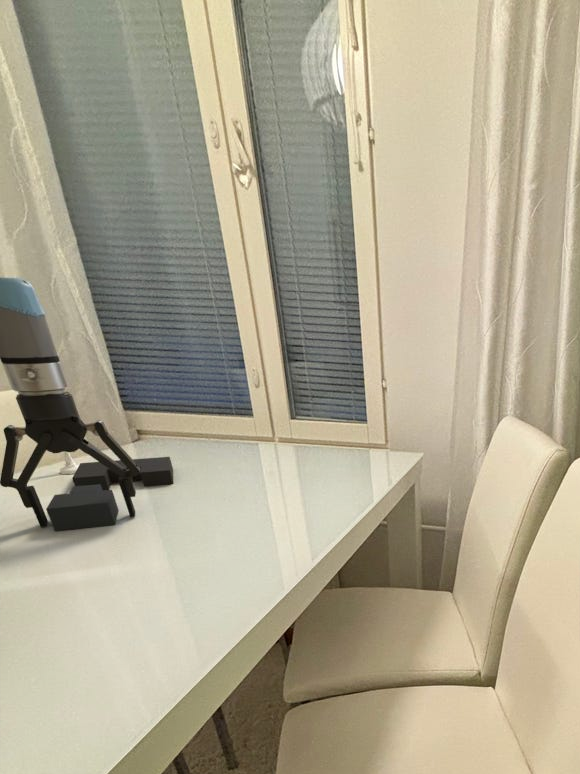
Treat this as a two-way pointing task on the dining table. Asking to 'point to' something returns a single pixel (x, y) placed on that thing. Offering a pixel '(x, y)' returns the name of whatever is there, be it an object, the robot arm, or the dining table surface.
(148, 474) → the notch mat
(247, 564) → the dining table surface
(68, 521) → the pad
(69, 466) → the chess piece
